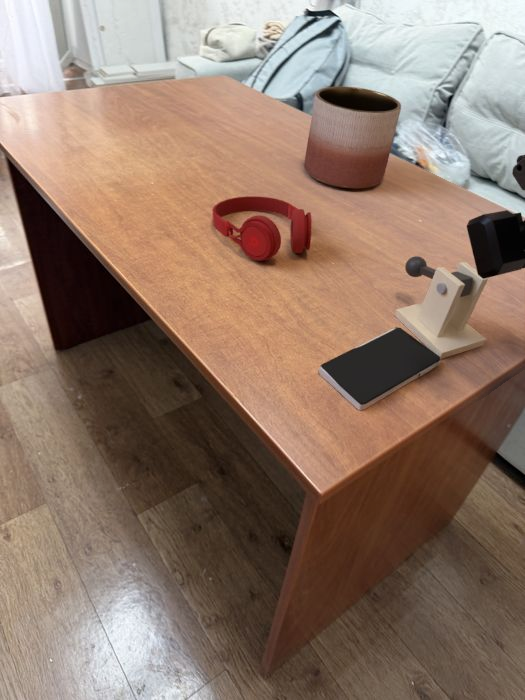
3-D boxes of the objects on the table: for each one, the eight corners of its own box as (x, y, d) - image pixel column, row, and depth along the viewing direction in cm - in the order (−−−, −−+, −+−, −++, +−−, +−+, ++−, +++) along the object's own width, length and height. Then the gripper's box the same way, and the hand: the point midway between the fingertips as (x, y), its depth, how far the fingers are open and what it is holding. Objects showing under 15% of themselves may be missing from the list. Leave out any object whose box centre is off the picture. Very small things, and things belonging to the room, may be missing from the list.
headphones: (327, 255, 82) (270, 216, 96) (331, 213, 77) (271, 180, 92) (248, 272, 76) (200, 228, 90) (248, 228, 72) (198, 189, 86)
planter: (368, 200, 100) (388, 119, 90) (290, 177, 105) (300, 98, 95) (391, 172, 112) (412, 98, 102) (321, 153, 117) (333, 80, 107)
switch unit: (394, 315, 72) (414, 258, 65) (435, 304, 75) (458, 248, 68) (439, 359, 65) (466, 301, 59) (482, 345, 68) (513, 288, 62)
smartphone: (317, 365, 61) (397, 325, 68) (316, 371, 62) (395, 331, 69) (363, 406, 56) (443, 359, 64) (360, 413, 57) (440, 365, 64)
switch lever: (399, 275, 72) (402, 255, 71) (415, 271, 73) (418, 252, 72) (454, 300, 64) (458, 279, 62) (471, 296, 65) (476, 274, 63)
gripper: (654, 121, 49) (520, 182, 63) (524, 134, 42) (407, 198, 56) (678, 230, 49) (539, 265, 63) (553, 260, 42) (429, 292, 57)
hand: (482, 254), depth 60 cm, fingers closed
